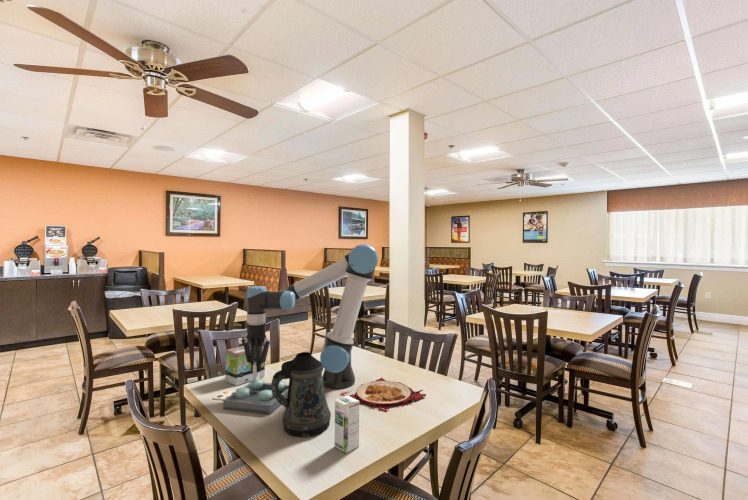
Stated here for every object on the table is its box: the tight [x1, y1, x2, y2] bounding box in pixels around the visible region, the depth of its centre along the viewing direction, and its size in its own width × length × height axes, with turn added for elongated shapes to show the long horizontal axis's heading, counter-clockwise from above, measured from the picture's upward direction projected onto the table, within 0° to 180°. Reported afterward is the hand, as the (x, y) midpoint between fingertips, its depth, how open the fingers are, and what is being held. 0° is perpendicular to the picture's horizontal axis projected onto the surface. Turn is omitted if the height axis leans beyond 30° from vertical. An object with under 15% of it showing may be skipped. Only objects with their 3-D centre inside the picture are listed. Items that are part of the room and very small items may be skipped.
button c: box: [249, 378, 264, 389], centre depth 151 cm, size 5×5×2 cm
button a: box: [278, 380, 285, 391], centre depth 148 cm, size 5×5×2 cm
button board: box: [222, 382, 289, 415], centre depth 145 cm, size 20×20×3 cm
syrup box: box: [333, 395, 360, 454], centre depth 111 cm, size 6×6×14 cm
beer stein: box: [270, 351, 332, 438], centre depth 123 cm, size 16×19×25 cm
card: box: [212, 389, 236, 401], centre depth 149 cm, size 8×8×1 cm
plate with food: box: [340, 377, 427, 414], centre depth 149 cm, size 25×26×4 cm
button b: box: [259, 390, 272, 402], centre depth 138 cm, size 5×5×2 cm
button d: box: [235, 387, 249, 399], centre depth 141 cm, size 5×5×2 cm
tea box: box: [224, 345, 266, 387], centre depth 169 cm, size 15×10×15 cm
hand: (256, 379), depth 151 cm, fingers closed
